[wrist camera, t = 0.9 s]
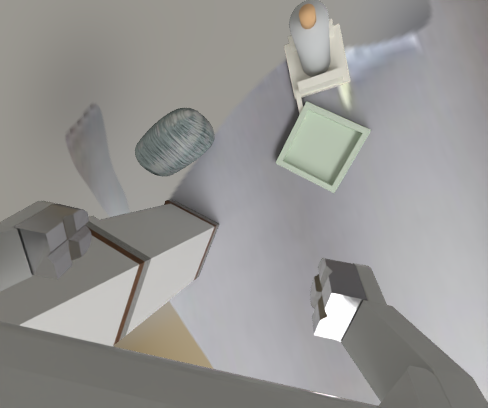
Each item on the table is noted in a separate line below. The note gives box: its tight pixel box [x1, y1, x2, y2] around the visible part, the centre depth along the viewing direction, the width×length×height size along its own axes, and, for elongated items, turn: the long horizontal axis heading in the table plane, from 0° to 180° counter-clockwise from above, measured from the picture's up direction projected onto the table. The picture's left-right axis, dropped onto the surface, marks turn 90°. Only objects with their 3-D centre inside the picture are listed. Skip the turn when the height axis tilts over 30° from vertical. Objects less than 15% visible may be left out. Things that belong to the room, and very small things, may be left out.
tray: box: [276, 101, 371, 193], centre depth 40 cm, size 10×10×2 cm
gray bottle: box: [289, 0, 331, 77], centre depth 33 cm, size 4×4×14 cm
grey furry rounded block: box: [135, 108, 214, 176], centre depth 45 cm, size 14×10×10 cm
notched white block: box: [0, 200, 219, 346], centre depth 35 cm, size 11×11×35 cm
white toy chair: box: [284, 19, 350, 119], centre depth 39 cm, size 8×11×3 cm
